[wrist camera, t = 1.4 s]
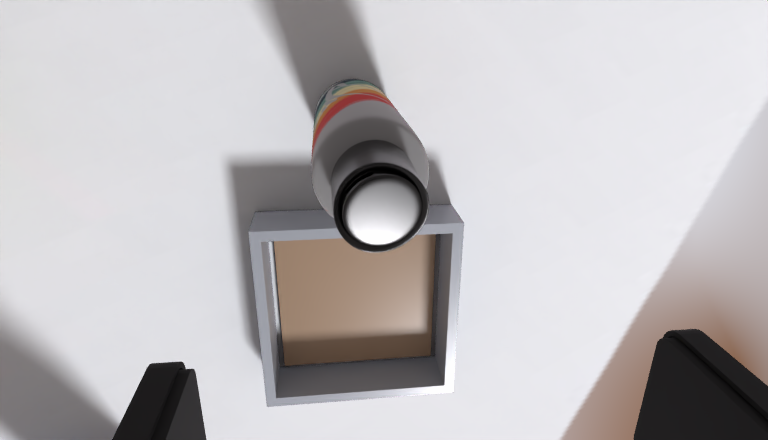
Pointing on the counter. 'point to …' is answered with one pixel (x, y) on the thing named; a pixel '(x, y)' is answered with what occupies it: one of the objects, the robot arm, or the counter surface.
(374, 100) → the lotion bottle
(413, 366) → the square gray frame
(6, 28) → the counter surface
